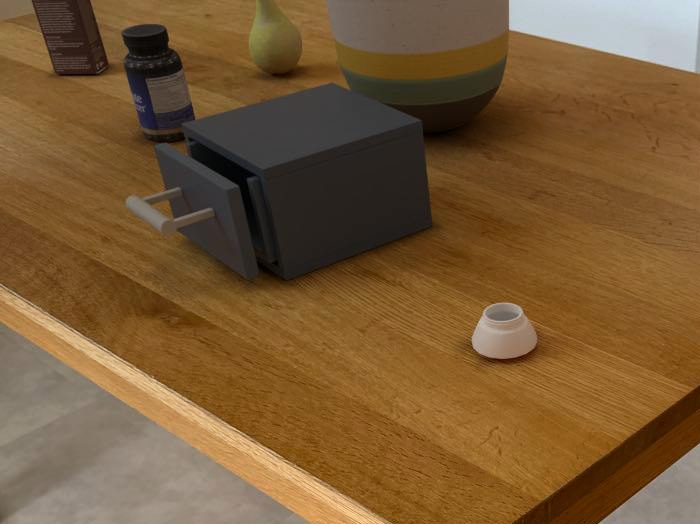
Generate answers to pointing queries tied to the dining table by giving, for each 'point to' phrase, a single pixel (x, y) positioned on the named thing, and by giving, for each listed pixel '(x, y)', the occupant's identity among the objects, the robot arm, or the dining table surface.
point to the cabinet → (326, 172)
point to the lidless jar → (504, 332)
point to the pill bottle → (157, 82)
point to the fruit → (274, 39)
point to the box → (71, 36)
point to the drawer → (211, 206)
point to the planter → (423, 54)
